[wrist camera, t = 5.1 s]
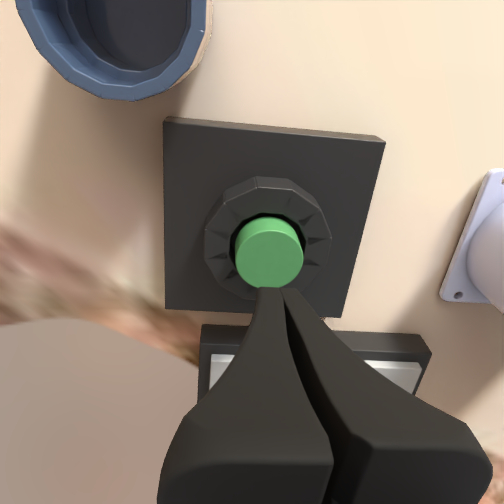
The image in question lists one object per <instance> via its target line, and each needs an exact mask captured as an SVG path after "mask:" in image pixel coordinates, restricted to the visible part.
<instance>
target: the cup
mask: <svg viewBox="0 0 504 504" xmlns="http://www.w3.org/2000/svg"><path fill="white" fill-rule="evenodd" d="M15 2H16V8H17V10H18V14H19V16H20V18H21V20H22V22H23V24H24V25H25V27H26V29H27V31H28V33H29V35H30V37H31V39H32V41H33V43H34V45H35V47H36V49H37V50H38V52H39V53H40V54H41V55H42V56H43V57H44V58H45V59H46V60H47V61H48V62H49V63H50V64H51V65H52V66H53V67H54V68H55V69H56V71H57V72H58V73H59V74H60V75H61V76H62V77H63V78H64V79H65V80H68V82H69V83H71V84H73V85H75V86H77V87H79V88H81V89H83V90H85V91H87V92H89V93H91V94H93V95H95V96H97V97H99V98H102V99H111V100H121V101H132V102H134V101H139V100H142V99H145V98H148V97H151V96H154V95H157V94H160V93H163V92H165V91H167V90H169V89H170V88H172V87H173V86H175V85H176V84H178V83H180V82H181V81H182V80H183V79H184V78H185V77H186V76H187V75H188V74H190V73H191V72H192V71H193V70H194V69H195V68H196V67H197V66H198V65H199V62H201V60H202V57H203V55H204V52H205V50H206V48H207V45H208V43H209V41H210V38H211V36H210V35H211V34H212V11H213V4H212V0H15Z"/></svg>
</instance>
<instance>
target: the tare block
mask: <svg viewBox="0 0 504 504" xmlns="http://www.w3.org/2000/svg"><path fill="white" fill-rule="evenodd" d="M385 145H386V142H385V141H383V140H382V139H380V138H378V137H377V136H372V135H362V134H351V133H340V132H329V131H318V130H308V129H297V128H286V127H275V126H265V125H254V124H243V123H232V122H221V121H211V120H200V119H189V118H178V117H167V118H166V119H165V120H164V121H163V176H164V253H165V309H174V310H194V311H214V312H234V313H254V309H255V300H256V292H257V289H258V288H257V287H254V286H252V285H250V284H248V283H247V282H246V281H244V280H243V279H242V277H241V276H240V275H239V273H238V271H237V268H236V263H235V242H236V238H237V235H238V233H239V232H240V230H241V229H242V228H243V227H244V226H245V225H246V224H247V223H249V222H250V221H252V220H254V219H257V218H260V217H276V218H280V219H282V220H284V221H286V222H287V223H289V224H290V225H291V226H292V227H293V229H294V230H295V232H296V234H297V237H298V240H299V242H300V245H301V248H302V251H303V264H302V268H301V270H300V272H299V273H298V275H297V276H296V277H295V278H294V279H293V280H292V281H291V282H290V283H288V284H286V285H284V286H282V287H279V288H296V289H297V290H298V291H299V292H300V293H301V295H302V296H303V297H304V298H305V300H306V301H307V302H308V303H309V305H310V306H311V307H312V308H313V310H314V311H315V312H316V313H317V315H318V316H319V317H333V318H341V316H342V312H343V308H344V304H345V300H346V296H347V293H348V289H349V285H350V281H351V277H352V273H353V269H354V265H355V261H356V257H357V254H358V250H359V246H360V242H361V238H362V234H363V230H364V226H365V222H366V219H367V215H368V211H369V207H370V203H371V199H372V195H373V191H374V187H375V184H376V180H377V176H378V172H379V168H380V164H381V160H382V156H383V152H384V148H385Z"/></svg>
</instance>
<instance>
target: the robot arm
mask: <svg viewBox="0 0 504 504" xmlns="http://www.w3.org/2000/svg"><path fill="white" fill-rule="evenodd" d="M503 178H504V169H499V168H496V169H492V170H490V171H489V172H488V173H486V175H485V177H484V179H483V181H482V184H481V187H480V189H479V192H478V194H477V197H476V199H475V202H474V204H473V207H472V210H471V212H470V215H469V217H468V220H467V222H466V225H465V227H464V230H463V232H462V235H461V238H460V240H459V243H458V245H457V248H456V250H455V253H454V255H453V258H452V261H451V263H450V266H449V268H448V271H447V273H446V276H445V278H444V281H443V284H442V286H441V289H440V291H439V295H440V297H441V298H442V299H443V300H444V301H450V302H468V303H486V304H493V305H494V306H495V307H496V308H497V309H498V310H499V311H500V312H501V313H502V314H503V315H504V182H503V183H502V179H503ZM457 292H459V293H458V294H456V295H455V293H457ZM492 476H493V466H492V464H491V462H490V461H489V459H488V457H487V455H486V454H485V452H484V450H483V449H482V447H481V445H480V444H479V442H478V440H477V439H476V437H475V436H474V434H473V433H472V431H471V430H470V429H469V427H468V426H467V424H466V423H464V422H462V421H460V420H458V419H456V418H455V417H453V416H451V415H449V414H447V413H445V412H443V411H441V410H439V409H437V408H435V407H433V406H431V405H429V404H428V403H426V402H424V401H422V400H421V399H419V398H417V397H416V396H414V395H412V394H411V393H409V392H407V391H406V390H404V389H403V388H401V387H400V386H398V385H396V384H395V383H393V382H392V381H391V380H389V379H388V378H386V377H385V376H384V375H382V374H381V373H379V372H378V371H377V370H375V369H374V368H373V367H371V366H370V365H369V364H367V363H366V362H365V361H364V360H363V359H361V358H360V357H359V356H358V355H357V354H356V353H354V352H353V351H352V350H351V349H350V348H349V347H348V346H347V345H346V344H344V343H343V342H342V341H341V340H340V339H339V338H338V337H337V336H336V335H335V334H334V333H333V331H332V330H331V329H330V328H329V327H328V326H327V325H326V324H325V323H324V321H323V320H322V319H321V318H320V317H319V316H318V315H317V313H316V312H315V311H314V310H313V308H312V307H311V306H310V305H309V303H308V302H307V301H306V300H305V298H304V297H303V296H302V295H301V293H300V292H299V291H298V290H297V289H296V288H278V287H259V288H258V289H257V292H256V300H255V309H254V314H253V317H252V320H251V323H250V326H249V328H248V330H247V332H246V335H245V337H244V339H243V341H242V343H241V345H240V347H239V349H238V351H237V352H236V354H235V356H234V357H233V359H232V361H231V362H230V364H229V365H228V367H227V368H226V370H225V371H224V372H223V374H222V375H221V377H220V378H219V379H218V380H217V382H216V383H215V384H214V385H213V386H212V388H211V389H210V390H209V391H208V392H207V394H206V395H205V396H204V397H203V398H202V399H201V400H200V401H199V402H198V403H197V404H196V405H195V406H194V407H193V408H192V409H191V410H190V411H189V412H188V413H187V414H186V415H185V416H184V417H183V419H182V421H181V423H180V425H179V427H178V429H177V431H176V433H175V435H174V438H173V440H172V442H171V444H170V446H169V449H168V452H167V454H166V457H165V459H164V463H163V467H162V470H161V474H160V481H159V487H158V494H157V504H478V502H479V501H480V499H481V498H482V496H483V495H484V493H485V492H486V490H487V488H488V486H489V484H490V482H491V479H492Z"/></svg>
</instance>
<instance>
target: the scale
mask: <svg viewBox="0 0 504 504" xmlns="http://www.w3.org/2000/svg"><path fill="white" fill-rule="evenodd" d="M248 328H249V326H228V325H207V324H203V325H202V329H201V338H200V351H199V376H198V400H197V403H198V402H199V401H200V400H201V399H202V398H203V397H204V396H205V395H206V394H207V392H208V391H209V390H210V389H211V388H212V386H213V385H214V384H215V383H216V382H217V380H218V379H219V378H220V377H221V375H222V374H223V372H224V371H225V370H226V368H227V367H228V365H229V364H230V362H231V361H232V359H233V357H234V356H235V354H236V352H237V351H238V349H239V347H240V345H241V343H242V341H243V339H244V337H245V335H246V332H247V330H248ZM332 331H333V333H334V334H335V335H336V336H337V337H338V338H339V339H340V340H341V341H342V342H343V343H344V344H346V345H347V346H348V347H349V348H350V349H351V350H352V351H353V352H354V353H356V354H357V355H358V356H359V357H360V358H361V359H363V360H364V361H365V362H366V363H367V364H369V365H370V366H371V367H373V368H374V369H375V370H377V371H378V372H379V373H381V374H382V375H384V376H385V377H386V378H388V379H389V380H391V381H392V382H393V383H395V384H396V385H398V386H400V387H401V388H403V389H404V390H406V391H407V392H409V393H411V394H412V395H414V396H415V394H416V391H417V389H418V386H419V384H420V382H421V379H422V377H423V375H424V372H425V370H426V367H427V365H428V363H429V360H430V358H431V356H432V353H431V351H430V350H429V348H428V346H427V345H426V343H425V342H424V340H423V339H422V337H421V336H420V335H419V334H397V333H376V332H355V331H334V330H332Z"/></svg>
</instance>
